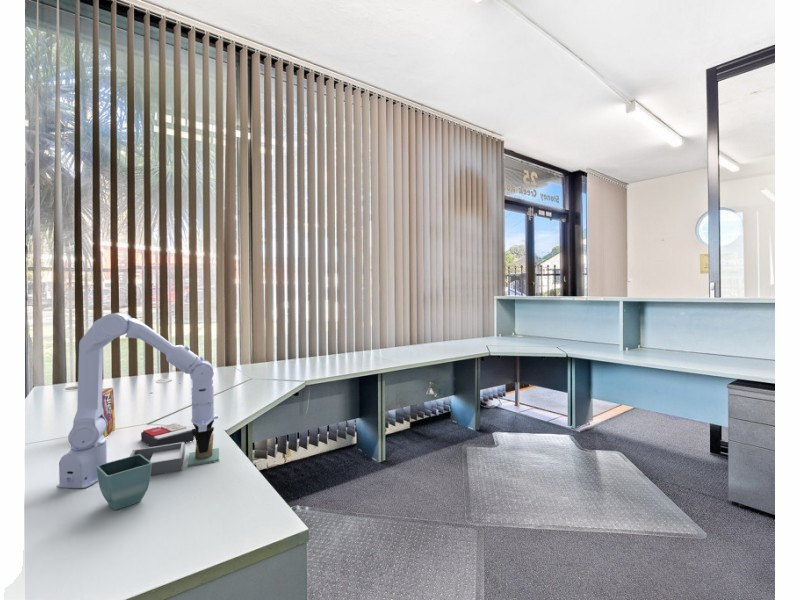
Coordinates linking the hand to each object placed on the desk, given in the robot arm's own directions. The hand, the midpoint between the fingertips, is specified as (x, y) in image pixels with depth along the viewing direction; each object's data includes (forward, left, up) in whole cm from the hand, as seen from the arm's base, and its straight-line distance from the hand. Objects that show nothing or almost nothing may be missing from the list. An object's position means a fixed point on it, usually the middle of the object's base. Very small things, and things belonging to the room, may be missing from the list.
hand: (203, 448), depth 112 cm
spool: (0, 0, -2) cm, 2 cm away
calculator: (+13, +20, -3) cm, 25 cm away
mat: (0, 0, -3) cm, 3 cm away
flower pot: (-24, +4, -3) cm, 25 cm away
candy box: (+18, +47, -3) cm, 50 cm away
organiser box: (-6, +10, -3) cm, 12 cm away
